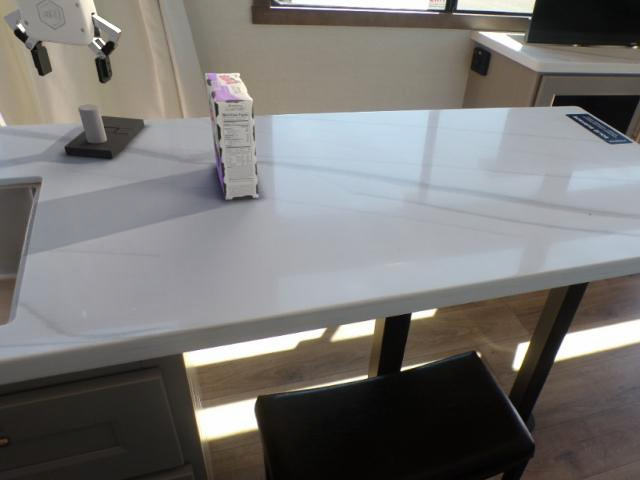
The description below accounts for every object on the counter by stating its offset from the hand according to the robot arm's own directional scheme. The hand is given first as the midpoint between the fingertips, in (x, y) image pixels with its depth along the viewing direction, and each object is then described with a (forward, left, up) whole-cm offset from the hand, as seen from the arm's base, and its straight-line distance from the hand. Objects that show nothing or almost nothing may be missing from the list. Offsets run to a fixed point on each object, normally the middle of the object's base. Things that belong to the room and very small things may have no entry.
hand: (76, 77), depth 88 cm
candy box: (+28, -9, -13) cm, 32 cm away
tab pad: (+1, +1, -13) cm, 13 cm away
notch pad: (+1, +8, -13) cm, 15 cm away
